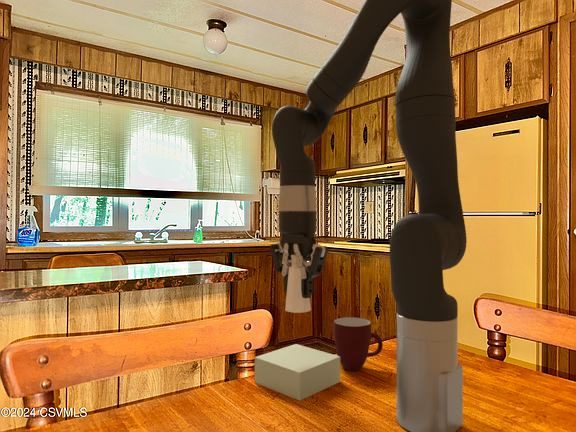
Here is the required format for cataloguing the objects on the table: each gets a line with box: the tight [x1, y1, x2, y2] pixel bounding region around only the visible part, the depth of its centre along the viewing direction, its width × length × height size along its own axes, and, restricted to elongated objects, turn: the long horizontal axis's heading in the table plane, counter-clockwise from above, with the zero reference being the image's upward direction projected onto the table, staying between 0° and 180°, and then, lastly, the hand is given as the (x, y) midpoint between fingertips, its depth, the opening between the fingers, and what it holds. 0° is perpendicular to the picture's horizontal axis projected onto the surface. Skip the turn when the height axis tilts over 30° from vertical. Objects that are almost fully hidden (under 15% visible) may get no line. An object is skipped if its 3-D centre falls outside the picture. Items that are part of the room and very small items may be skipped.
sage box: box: [254, 343, 341, 402], centre depth 84 cm, size 12×12×5 cm
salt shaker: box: [284, 255, 312, 314], centre depth 84 cm, size 5×5×11 cm
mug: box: [333, 316, 384, 372], centre depth 92 cm, size 10×8×10 cm
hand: (297, 295), depth 84 cm, fingers closed on salt shaker, 4 cm apart
